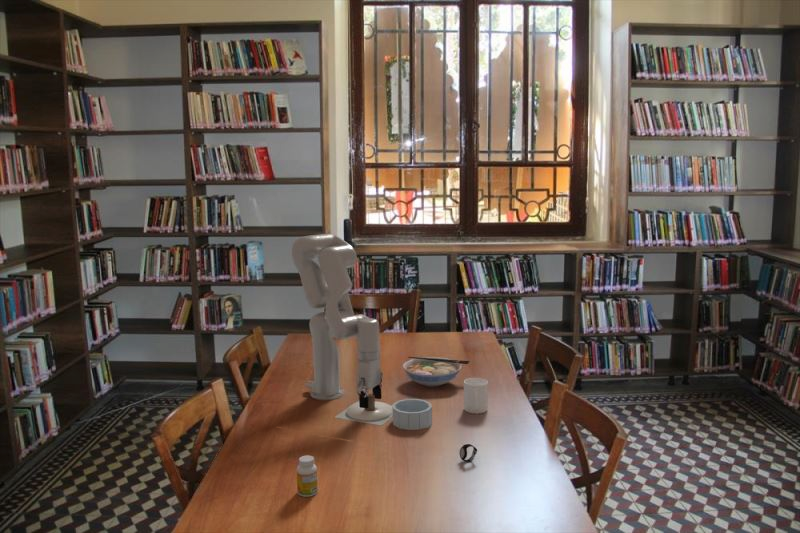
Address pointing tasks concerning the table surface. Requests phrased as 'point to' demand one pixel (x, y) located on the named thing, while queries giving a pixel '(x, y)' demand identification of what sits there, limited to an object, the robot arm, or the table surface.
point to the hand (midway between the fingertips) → (370, 403)
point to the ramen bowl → (432, 370)
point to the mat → (344, 416)
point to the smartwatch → (464, 452)
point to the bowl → (412, 414)
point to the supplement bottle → (307, 477)
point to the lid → (370, 410)
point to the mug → (475, 395)
